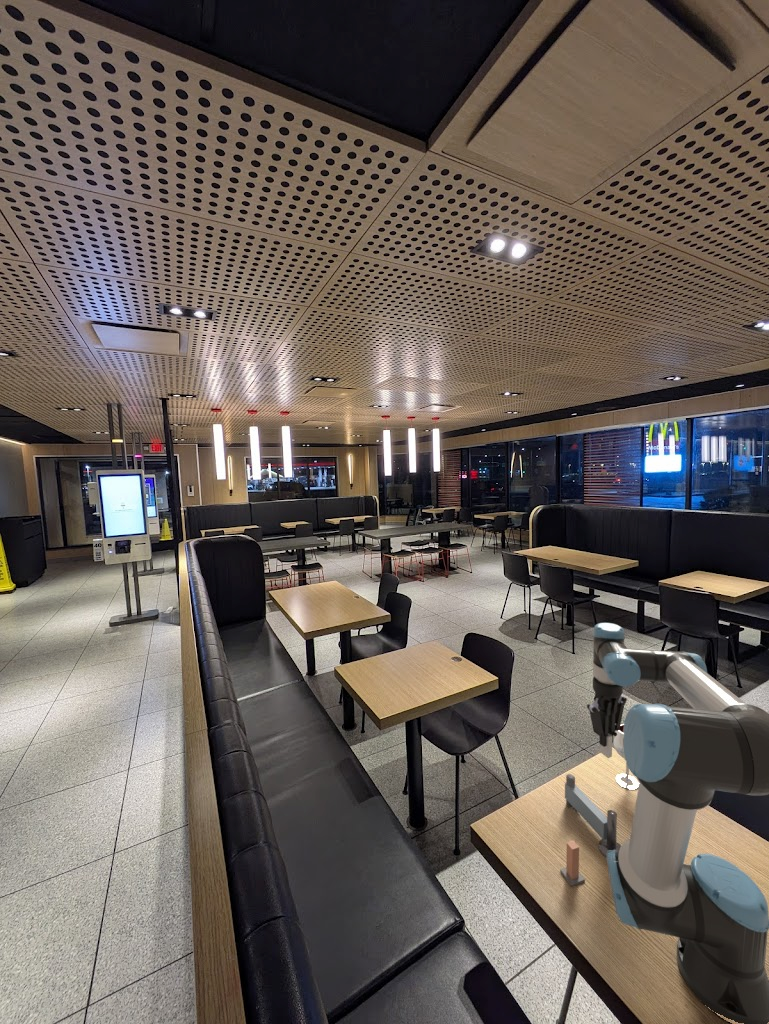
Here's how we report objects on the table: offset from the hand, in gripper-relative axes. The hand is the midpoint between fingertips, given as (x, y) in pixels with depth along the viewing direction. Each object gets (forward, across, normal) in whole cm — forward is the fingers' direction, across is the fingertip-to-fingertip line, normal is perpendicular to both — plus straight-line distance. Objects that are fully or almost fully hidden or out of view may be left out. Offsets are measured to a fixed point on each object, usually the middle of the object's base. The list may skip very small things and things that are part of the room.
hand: (605, 754), depth 121 cm
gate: (+18, +8, 0) cm, 20 cm away
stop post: (+19, +23, +11) cm, 32 cm away
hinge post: (+19, +8, +10) cm, 23 cm away
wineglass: (+19, -16, -5) cm, 25 cm away
